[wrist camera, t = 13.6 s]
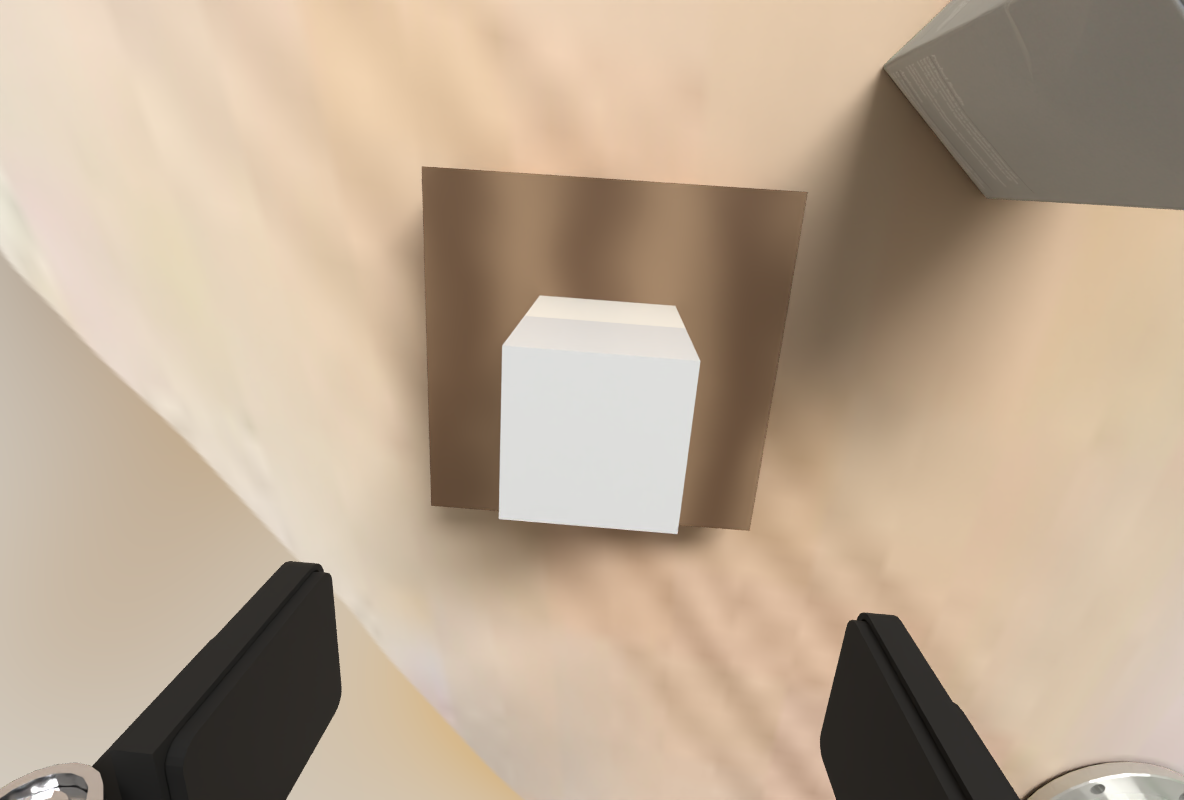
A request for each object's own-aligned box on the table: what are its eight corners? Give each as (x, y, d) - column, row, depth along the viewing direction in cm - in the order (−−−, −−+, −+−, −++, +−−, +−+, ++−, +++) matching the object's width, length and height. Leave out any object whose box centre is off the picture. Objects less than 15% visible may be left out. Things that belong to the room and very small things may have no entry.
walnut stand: (783, 191, 29) (807, 192, 25) (735, 492, 34) (749, 530, 30) (447, 168, 29) (421, 166, 25) (452, 470, 34) (431, 505, 31)
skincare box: (1108, 97, 27) (1716, -14, 12) (966, 214, 29) (1339, 245, 14) (1002, -65, 25) (1558, -432, 10) (858, 71, 27) (1151, -72, 12)
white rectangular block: (675, 305, 27) (700, 361, 18) (660, 431, 29) (677, 533, 20) (539, 295, 27) (502, 345, 18) (534, 421, 29) (498, 518, 20)
